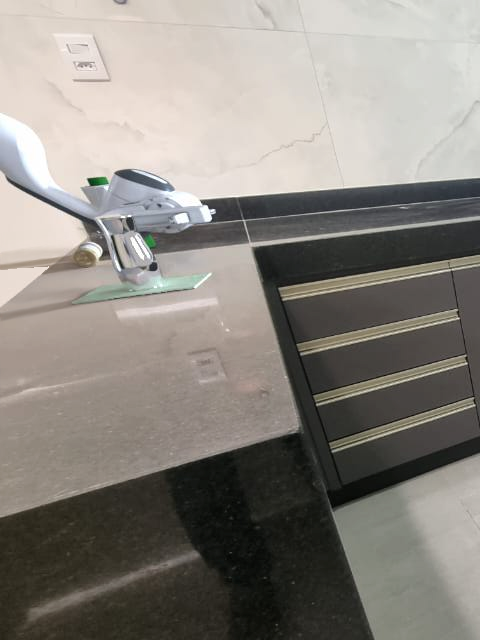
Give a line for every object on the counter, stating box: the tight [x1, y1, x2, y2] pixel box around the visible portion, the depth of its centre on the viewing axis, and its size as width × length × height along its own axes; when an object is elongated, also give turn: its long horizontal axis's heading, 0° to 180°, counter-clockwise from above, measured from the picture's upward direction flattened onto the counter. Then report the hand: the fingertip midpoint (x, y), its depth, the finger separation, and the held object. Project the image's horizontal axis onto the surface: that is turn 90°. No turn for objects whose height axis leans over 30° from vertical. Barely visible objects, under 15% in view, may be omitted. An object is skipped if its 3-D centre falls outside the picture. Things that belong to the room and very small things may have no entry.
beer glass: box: [94, 213, 165, 291], centre depth 110 cm, size 7×7×15 cm
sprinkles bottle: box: [72, 241, 103, 268], centre depth 139 cm, size 5×5×14 cm
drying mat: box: [72, 272, 212, 305], centre depth 113 cm, size 20×13×1 cm, turn 114°
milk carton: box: [79, 176, 157, 249], centre depth 150 cm, size 9×9×20 cm
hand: (147, 222), depth 120 cm, fingers open, 8 cm apart
